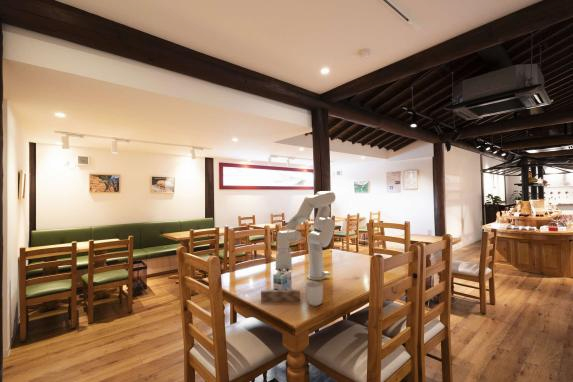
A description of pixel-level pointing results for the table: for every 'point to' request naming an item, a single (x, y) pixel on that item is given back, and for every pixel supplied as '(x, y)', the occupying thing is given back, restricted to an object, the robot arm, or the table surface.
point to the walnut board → (280, 295)
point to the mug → (314, 293)
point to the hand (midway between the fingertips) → (284, 279)
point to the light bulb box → (282, 280)
